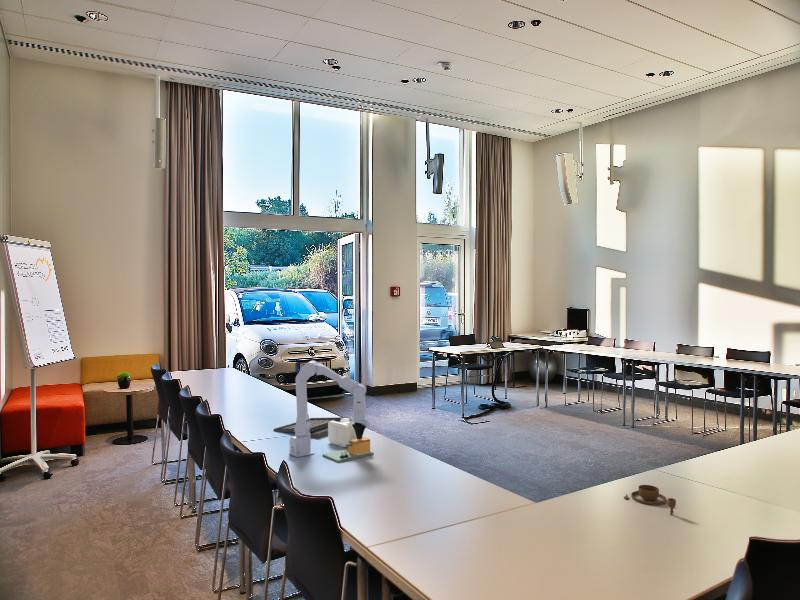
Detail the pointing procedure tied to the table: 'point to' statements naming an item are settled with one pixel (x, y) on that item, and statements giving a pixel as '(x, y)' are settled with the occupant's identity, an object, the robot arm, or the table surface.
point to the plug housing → (359, 446)
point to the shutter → (312, 426)
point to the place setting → (651, 496)
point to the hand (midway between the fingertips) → (359, 438)
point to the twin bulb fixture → (344, 455)
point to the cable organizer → (341, 432)
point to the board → (336, 455)
